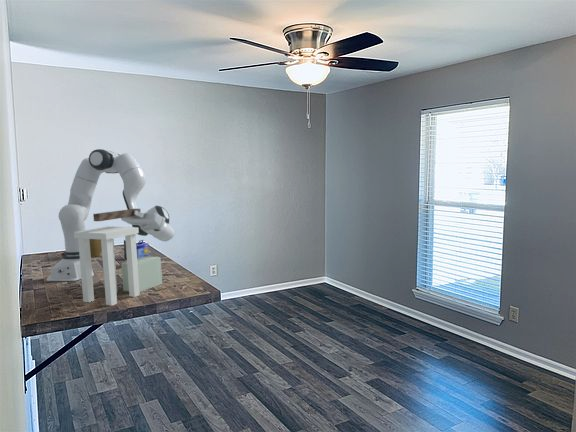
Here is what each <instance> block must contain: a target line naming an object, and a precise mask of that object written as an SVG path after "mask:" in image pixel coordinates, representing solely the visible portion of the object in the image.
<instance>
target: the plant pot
mask: <svg viewBox="0 0 576 432" xmlns="http://www.w3.org/2000/svg"><path fill="white" fill-rule="evenodd" d="M89 241H90V253H91V258H96V257H95V256H98V257H100V256H101V255H102V246H101V239H89Z"/></svg>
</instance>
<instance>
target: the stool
mask: <svg viewBox="0 0 576 432" xmlns="http://www.w3.org/2000/svg"><path fill="white" fill-rule="evenodd" d="M137 233H139V229H138V227H131V226H102V227H96V228H91V229H86V230H84V231H78V232H74V238H78V243H79V255H80V267H81V279H80V280H81V289H82V299H83V300H82V302H83V303H87V302H89V303H91V301H92V302H95V294H94V293H95V292H94V282H93V281H94V278H93V276H92V270H93V267H92V266H93V265H92V257H91V253H90V241H89V239H101V246H102V251H101V255H102V269H103V279H104V280H103V281H104V282H103V283H104V293H105V294H104V295H105V297H104V298H105V305H106V306H111V307H112V306H114V305H117V304H118V295H117V293H118V281H117V279H118V278H117V268H116V265H117V264H116V254H115V252H116V251H115V241H114V239H117V238H121V237H125V241H126V255H127V260H126V262H127V269H128V283H129V291H128V294H129V297H132V298H133V297H134V298H135V297H136V298H137V297H139V296H140V293H141V292H139V278H138V264H137V250H136V244H137V239H136V238H137V237H136V235H138V234H137Z"/></svg>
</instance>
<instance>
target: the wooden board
mask: <svg viewBox="0 0 576 432" xmlns="http://www.w3.org/2000/svg"><path fill="white" fill-rule="evenodd" d="M133 211H138V212H141V208H138V209H121V210H114V211H106V212H100V213H99V212H98V213H93V216H92V217H93V222H104V221H110V220H117V219H121V218H125V217H132V216H136V215H134V214H133Z"/></svg>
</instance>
